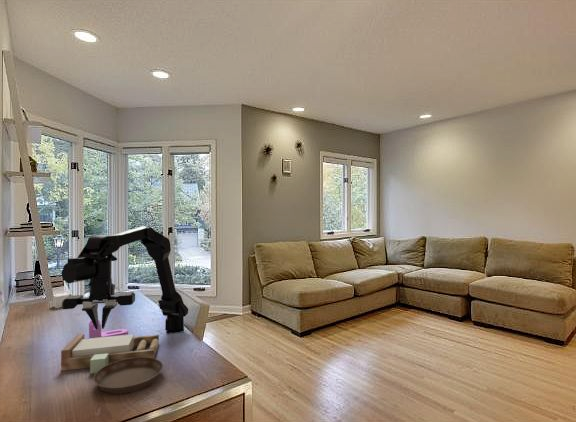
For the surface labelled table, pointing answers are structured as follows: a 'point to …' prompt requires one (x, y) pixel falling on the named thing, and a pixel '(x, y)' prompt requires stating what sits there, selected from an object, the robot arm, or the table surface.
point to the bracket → (97, 332)
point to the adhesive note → (59, 299)
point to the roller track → (84, 361)
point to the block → (98, 362)
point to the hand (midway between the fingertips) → (100, 328)
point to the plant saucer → (128, 374)
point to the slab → (103, 345)
